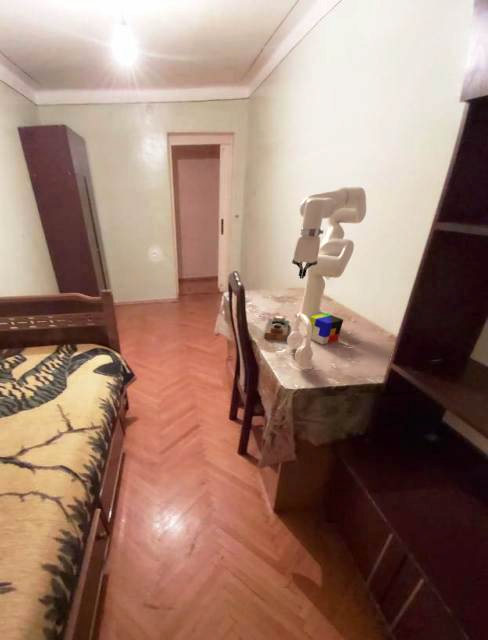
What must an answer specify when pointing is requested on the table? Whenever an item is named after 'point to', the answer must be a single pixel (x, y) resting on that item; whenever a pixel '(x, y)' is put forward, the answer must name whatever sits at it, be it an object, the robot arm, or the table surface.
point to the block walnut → (276, 332)
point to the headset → (296, 340)
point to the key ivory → (279, 318)
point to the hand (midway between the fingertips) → (301, 277)
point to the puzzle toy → (325, 328)
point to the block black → (283, 322)
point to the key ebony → (277, 325)
